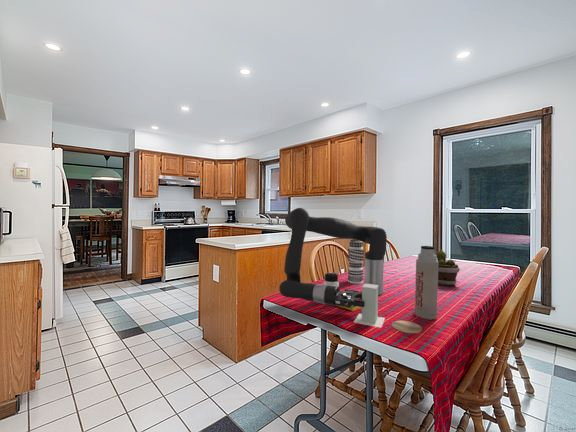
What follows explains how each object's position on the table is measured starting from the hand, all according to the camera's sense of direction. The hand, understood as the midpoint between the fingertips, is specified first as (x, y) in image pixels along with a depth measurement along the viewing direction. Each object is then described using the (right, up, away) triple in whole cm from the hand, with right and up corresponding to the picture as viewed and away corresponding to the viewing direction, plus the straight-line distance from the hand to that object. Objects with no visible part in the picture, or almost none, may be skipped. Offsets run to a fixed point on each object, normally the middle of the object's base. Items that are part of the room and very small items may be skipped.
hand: (366, 300), depth 108 cm
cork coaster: (+13, -8, -6) cm, 16 cm away
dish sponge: (-5, -7, +16) cm, 19 cm away
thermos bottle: (+25, -8, +6) cm, 27 cm away
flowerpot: (+59, -7, +54) cm, 80 cm away
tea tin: (+1, -7, 0) cm, 7 cm away
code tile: (+1, -8, 0) cm, 8 cm away
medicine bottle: (-10, -7, +25) cm, 28 cm away
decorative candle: (+9, -6, +56) cm, 57 cm away
